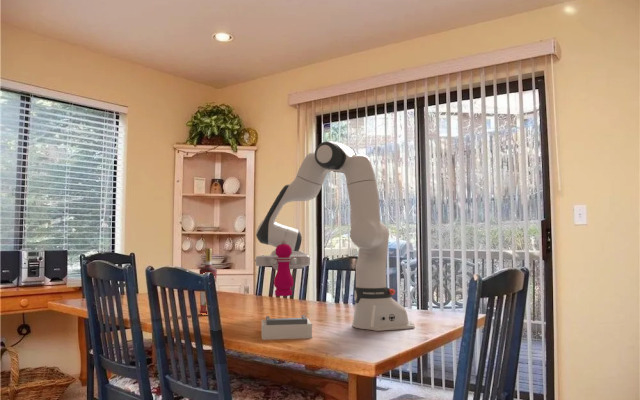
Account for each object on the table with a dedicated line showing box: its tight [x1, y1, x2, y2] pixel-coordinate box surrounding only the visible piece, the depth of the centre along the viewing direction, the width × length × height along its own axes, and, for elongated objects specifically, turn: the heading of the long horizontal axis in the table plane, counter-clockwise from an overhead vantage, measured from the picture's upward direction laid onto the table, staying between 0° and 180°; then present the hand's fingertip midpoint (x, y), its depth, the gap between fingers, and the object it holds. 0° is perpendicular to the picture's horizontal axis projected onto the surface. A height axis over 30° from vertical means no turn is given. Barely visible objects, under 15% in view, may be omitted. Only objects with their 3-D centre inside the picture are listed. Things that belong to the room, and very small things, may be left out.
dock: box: [260, 314, 313, 341], centre depth 159 cm, size 16×14×6 cm
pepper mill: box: [273, 240, 295, 297], centre depth 173 cm, size 7×7×20 cm
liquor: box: [198, 248, 218, 314], centre depth 203 cm, size 7×7×28 cm
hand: (283, 261), depth 172 cm, fingers closed on pepper mill, 5 cm apart
